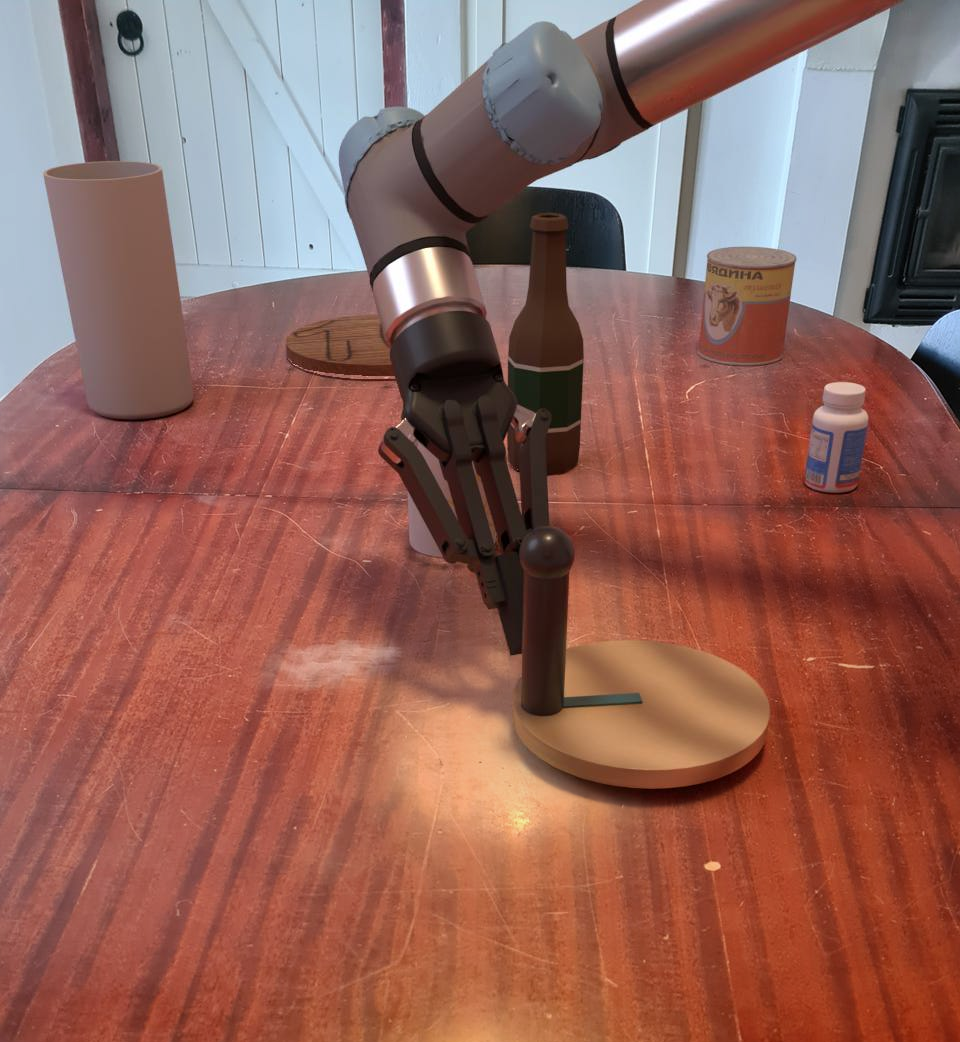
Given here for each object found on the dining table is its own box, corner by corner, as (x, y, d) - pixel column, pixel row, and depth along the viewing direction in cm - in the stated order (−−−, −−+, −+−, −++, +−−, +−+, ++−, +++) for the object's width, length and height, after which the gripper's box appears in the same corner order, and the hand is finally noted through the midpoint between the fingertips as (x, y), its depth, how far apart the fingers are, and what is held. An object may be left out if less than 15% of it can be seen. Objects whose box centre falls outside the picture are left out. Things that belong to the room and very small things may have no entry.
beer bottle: (582, 453, 135) (594, 208, 120) (574, 478, 129) (585, 224, 114) (512, 449, 136) (515, 206, 121) (501, 474, 130) (502, 221, 115)
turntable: (646, 635, 98) (662, 454, 89) (821, 731, 86) (859, 533, 77) (462, 704, 89) (459, 511, 81) (629, 821, 78) (647, 610, 69)
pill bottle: (856, 477, 129) (874, 381, 123) (857, 496, 124) (875, 397, 118) (803, 473, 130) (818, 377, 124) (802, 492, 125) (817, 394, 119)
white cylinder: (468, 564, 112) (467, 431, 104) (392, 547, 115) (386, 417, 108) (511, 533, 117) (512, 405, 110) (437, 517, 120) (434, 391, 113)
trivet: (298, 387, 154) (297, 371, 153) (277, 334, 173) (275, 320, 172) (492, 372, 158) (492, 357, 157) (450, 323, 178) (450, 309, 177)
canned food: (680, 353, 165) (689, 255, 158) (733, 337, 171) (744, 242, 164) (747, 371, 159) (759, 270, 151) (800, 354, 165) (814, 256, 157)
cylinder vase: (171, 383, 155) (137, 157, 140) (211, 409, 147) (179, 172, 132) (74, 400, 150) (27, 167, 135) (110, 429, 142) (65, 184, 126)
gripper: (505, 354, 94) (589, 648, 92) (341, 372, 90) (426, 680, 88) (538, 296, 87) (629, 614, 85) (361, 313, 83) (453, 647, 81)
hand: (526, 647), depth 86 cm, fingers closed
